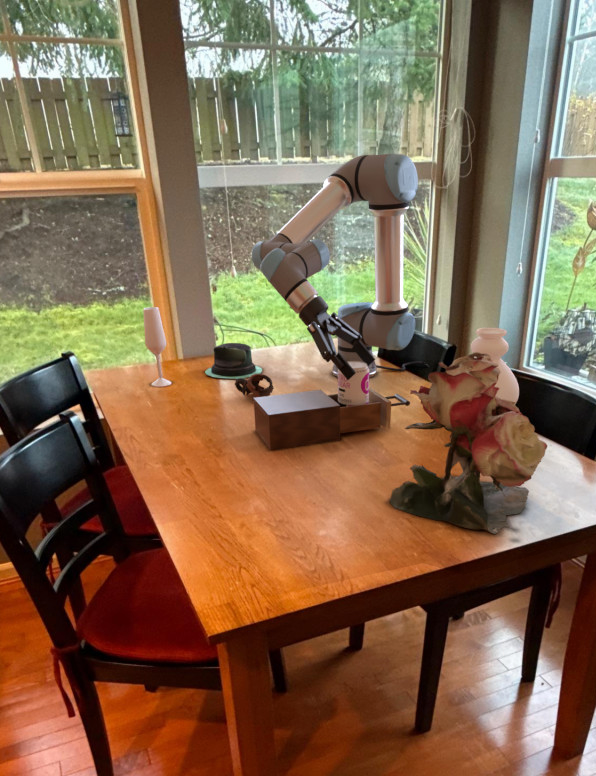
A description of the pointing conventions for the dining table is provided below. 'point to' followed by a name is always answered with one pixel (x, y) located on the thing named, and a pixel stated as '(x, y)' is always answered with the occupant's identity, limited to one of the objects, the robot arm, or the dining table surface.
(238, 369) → the dark green rounded hat
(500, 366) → the decorative vase
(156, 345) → the champagne flute
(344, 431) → the drawer
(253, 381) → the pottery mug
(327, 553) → the dining table surface
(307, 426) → the cabinet
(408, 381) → the dining table surface
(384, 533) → the dining table surface
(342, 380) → the supplement can
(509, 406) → the rose bouquet
